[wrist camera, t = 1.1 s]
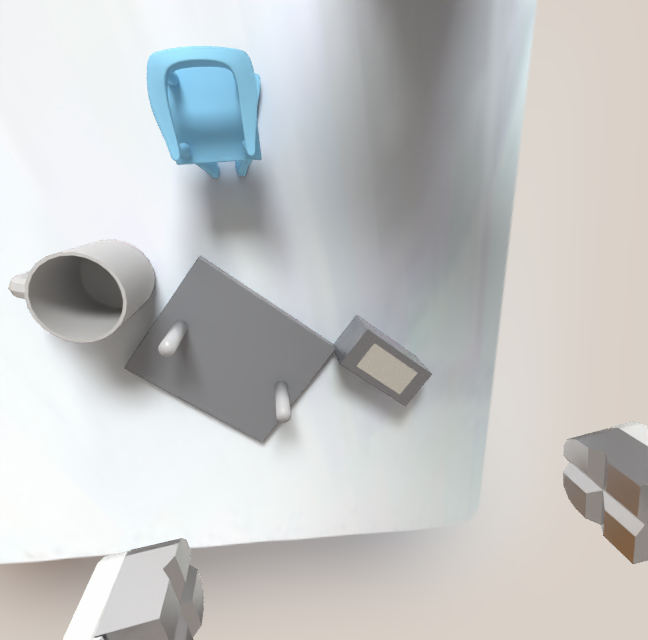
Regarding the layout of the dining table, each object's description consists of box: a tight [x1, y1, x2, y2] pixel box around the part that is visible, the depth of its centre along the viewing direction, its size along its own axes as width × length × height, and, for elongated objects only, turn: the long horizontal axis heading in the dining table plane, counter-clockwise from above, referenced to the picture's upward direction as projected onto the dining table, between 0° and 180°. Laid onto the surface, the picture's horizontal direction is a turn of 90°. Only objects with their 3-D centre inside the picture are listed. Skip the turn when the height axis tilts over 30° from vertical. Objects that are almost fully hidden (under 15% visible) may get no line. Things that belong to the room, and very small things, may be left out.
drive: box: [334, 315, 432, 406], centre depth 43 cm, size 4×9×5 cm, turn 53°
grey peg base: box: [125, 256, 336, 442], centre depth 39 cm, size 14×17×7 cm
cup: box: [8, 240, 155, 343], centre depth 34 cm, size 7×10×9 cm
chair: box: [147, 46, 261, 178], centre depth 30 cm, size 8×8×12 cm
